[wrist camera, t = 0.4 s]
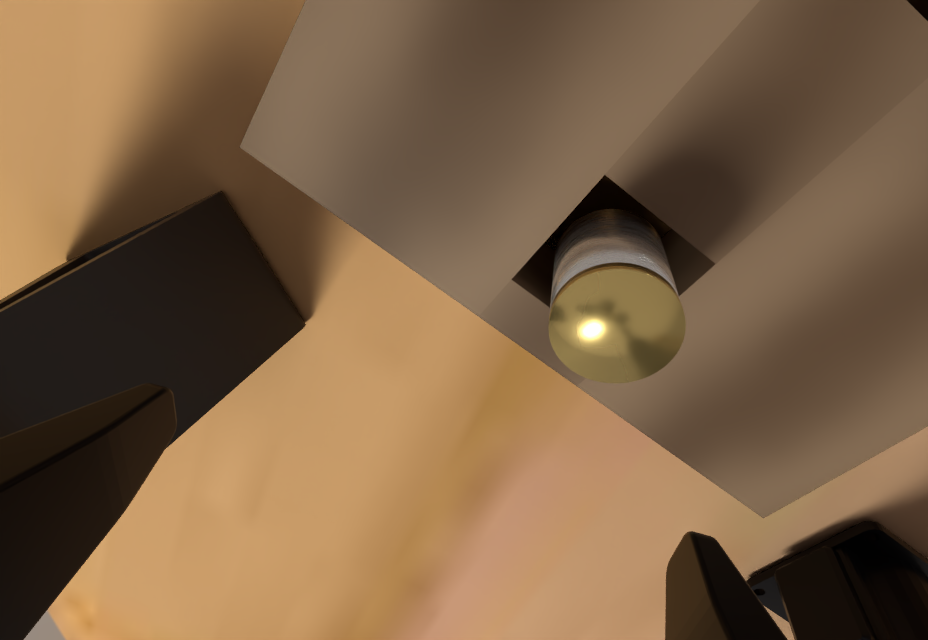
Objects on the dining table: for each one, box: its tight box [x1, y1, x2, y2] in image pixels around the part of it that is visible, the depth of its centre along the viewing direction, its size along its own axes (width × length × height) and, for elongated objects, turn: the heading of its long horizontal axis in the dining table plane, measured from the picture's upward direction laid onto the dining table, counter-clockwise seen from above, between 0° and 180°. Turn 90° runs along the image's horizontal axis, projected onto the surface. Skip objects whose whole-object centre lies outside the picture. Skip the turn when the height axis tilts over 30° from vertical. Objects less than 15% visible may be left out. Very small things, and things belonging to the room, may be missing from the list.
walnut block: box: [240, 0, 928, 518], centre depth 14 cm, size 20×17×4 cm
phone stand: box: [0, 191, 306, 449], centre depth 18 cm, size 9×6×12 cm, turn 113°
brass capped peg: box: [548, 209, 686, 384], centre depth 14 cm, size 3×3×4 cm
